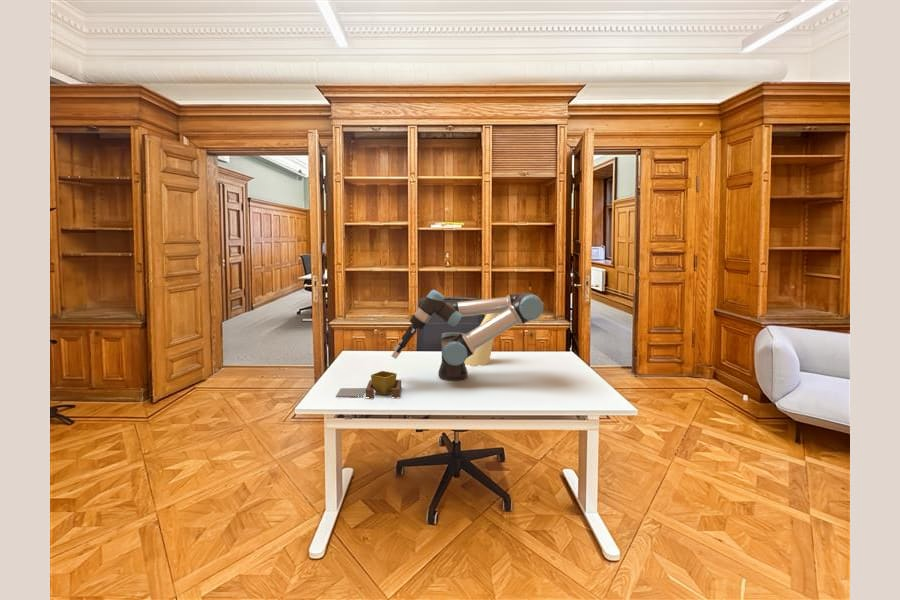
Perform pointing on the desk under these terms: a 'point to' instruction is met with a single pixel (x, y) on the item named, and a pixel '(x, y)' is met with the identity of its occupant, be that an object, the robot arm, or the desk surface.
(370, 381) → the pair of brown brackets
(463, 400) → the desk surface
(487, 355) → the cone light
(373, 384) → the flower pot
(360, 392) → the slate mat
